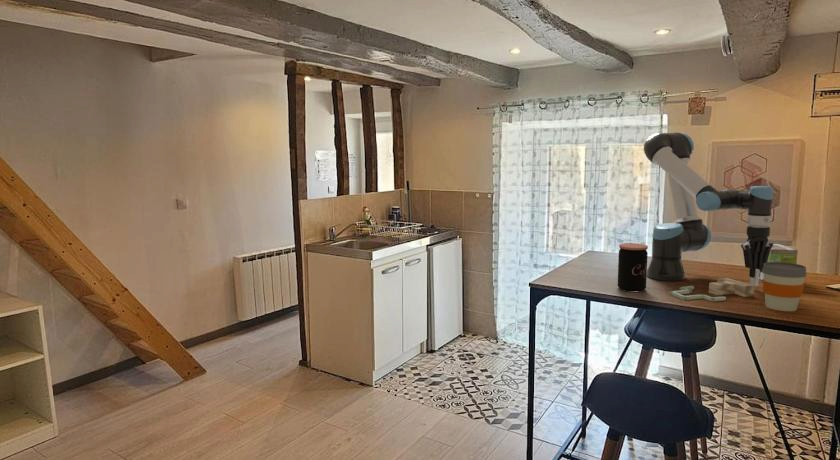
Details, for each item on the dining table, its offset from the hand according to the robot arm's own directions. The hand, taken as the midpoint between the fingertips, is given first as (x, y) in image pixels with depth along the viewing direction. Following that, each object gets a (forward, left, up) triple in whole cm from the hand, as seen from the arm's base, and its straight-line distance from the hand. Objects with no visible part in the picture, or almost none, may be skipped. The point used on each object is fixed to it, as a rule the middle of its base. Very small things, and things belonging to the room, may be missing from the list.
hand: (754, 285), depth 201 cm
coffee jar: (-15, -44, -2) cm, 47 cm away
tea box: (-10, +20, -2) cm, 22 cm away
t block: (0, -13, -2) cm, 13 cm away
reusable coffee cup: (+21, -10, -2) cm, 23 cm away
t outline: (0, -27, -2) cm, 27 cm away
